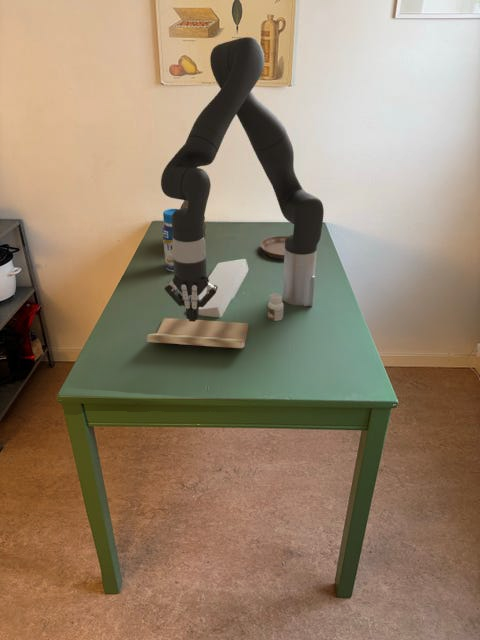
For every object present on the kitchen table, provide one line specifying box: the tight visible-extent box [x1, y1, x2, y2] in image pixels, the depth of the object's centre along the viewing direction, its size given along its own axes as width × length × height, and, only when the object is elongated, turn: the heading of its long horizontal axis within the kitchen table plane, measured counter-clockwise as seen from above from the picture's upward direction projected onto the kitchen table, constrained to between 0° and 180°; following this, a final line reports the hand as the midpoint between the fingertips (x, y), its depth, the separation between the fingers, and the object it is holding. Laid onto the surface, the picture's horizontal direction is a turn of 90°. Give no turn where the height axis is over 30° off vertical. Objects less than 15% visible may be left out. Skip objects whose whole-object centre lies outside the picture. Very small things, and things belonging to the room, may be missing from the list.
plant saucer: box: [260, 235, 289, 260], centre depth 187 cm, size 18×18×3 cm
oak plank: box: [146, 332, 246, 349], centre depth 131 cm, size 24×8×2 cm, turn 83°
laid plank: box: [156, 317, 250, 342], centre depth 139 cm, size 24×8×2 cm, turn 83°
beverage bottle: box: [162, 208, 179, 273], centre depth 171 cm, size 8×8×20 cm
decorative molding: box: [199, 258, 249, 319], centre depth 160 cm, size 34×5×10 cm
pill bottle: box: [267, 292, 284, 322], centre depth 144 cm, size 4×4×8 cm
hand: (192, 319), depth 125 cm, fingers closed
